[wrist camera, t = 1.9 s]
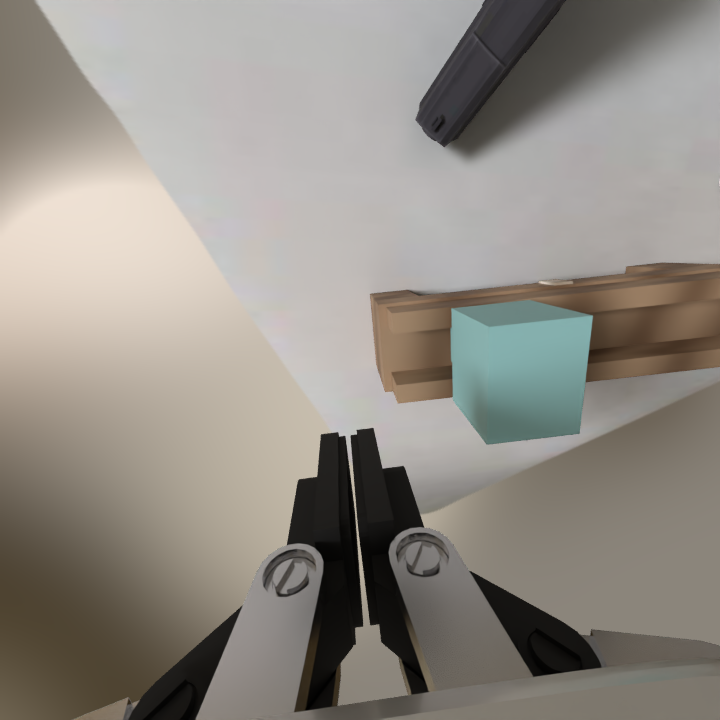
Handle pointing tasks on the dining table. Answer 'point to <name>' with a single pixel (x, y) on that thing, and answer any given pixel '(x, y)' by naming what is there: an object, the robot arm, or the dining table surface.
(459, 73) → the handgun
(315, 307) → the dining table surface
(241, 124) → the dining table surface
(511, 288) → the beam
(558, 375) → the teal rectangular block
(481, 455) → the dining table surface
